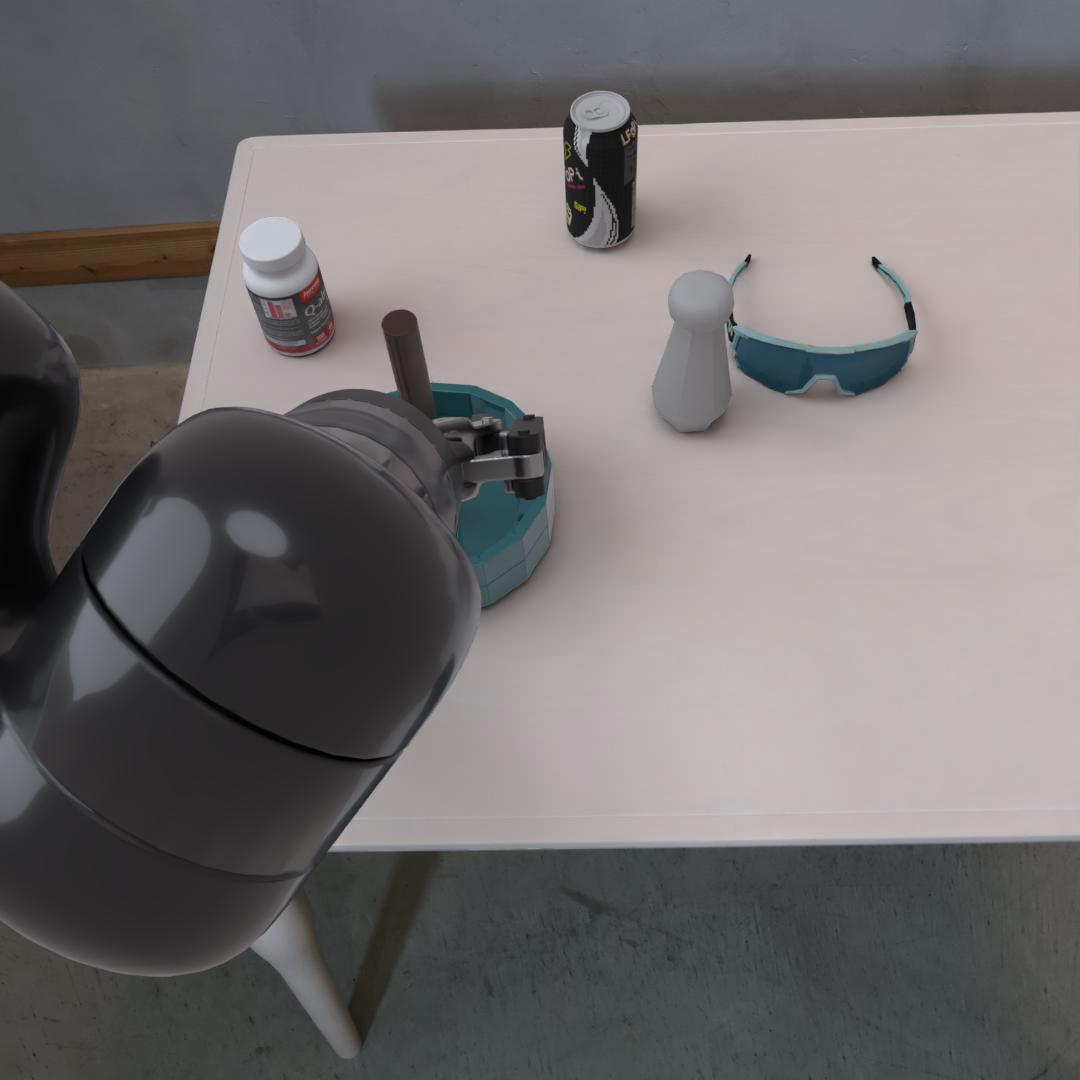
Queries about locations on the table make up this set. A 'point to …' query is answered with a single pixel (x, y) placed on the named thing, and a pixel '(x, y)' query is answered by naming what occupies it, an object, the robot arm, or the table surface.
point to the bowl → (497, 504)
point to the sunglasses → (822, 353)
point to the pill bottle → (286, 287)
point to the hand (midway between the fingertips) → (391, 445)
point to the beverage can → (600, 169)
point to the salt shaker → (695, 353)
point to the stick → (408, 360)
